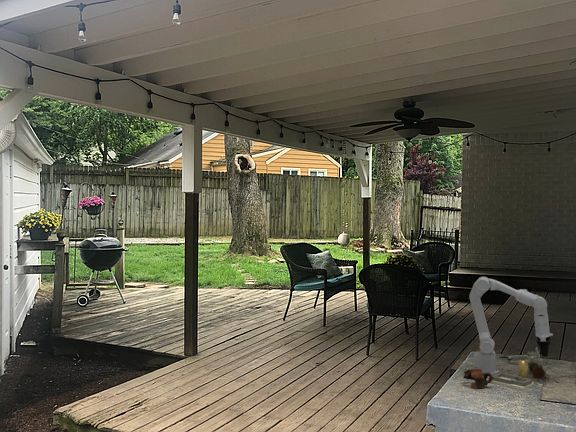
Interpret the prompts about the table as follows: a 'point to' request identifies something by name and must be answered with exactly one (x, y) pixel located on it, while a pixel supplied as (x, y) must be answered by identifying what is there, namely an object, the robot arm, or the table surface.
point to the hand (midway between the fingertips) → (544, 354)
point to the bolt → (536, 370)
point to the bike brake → (530, 356)
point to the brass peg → (523, 368)
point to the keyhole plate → (512, 381)
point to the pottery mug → (478, 378)
